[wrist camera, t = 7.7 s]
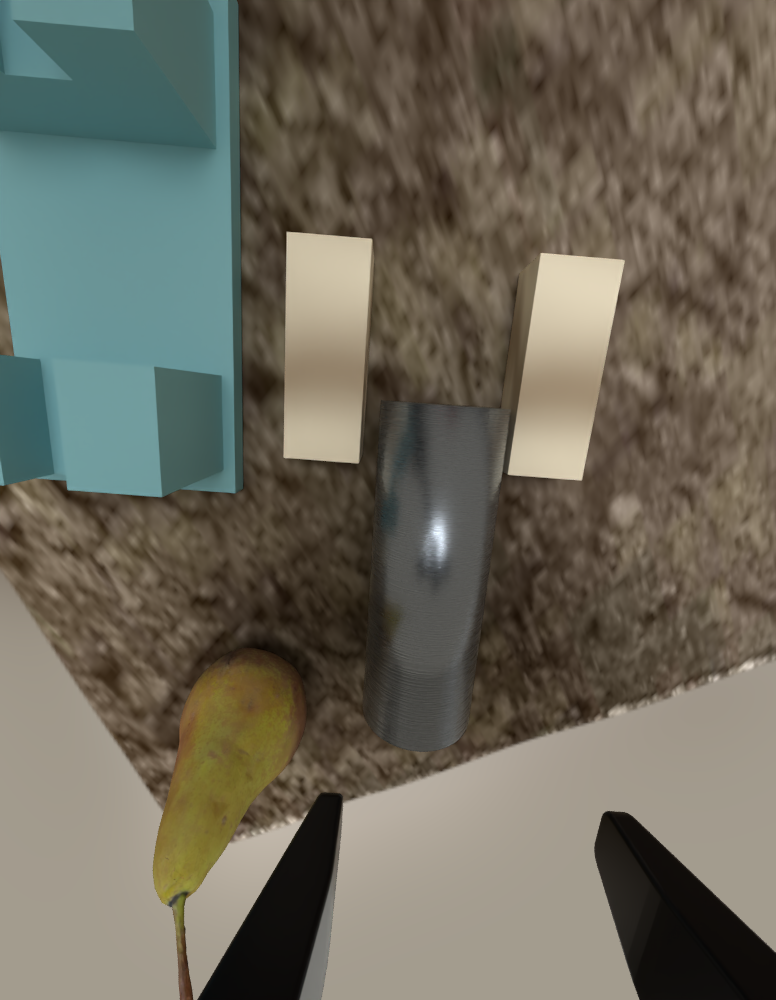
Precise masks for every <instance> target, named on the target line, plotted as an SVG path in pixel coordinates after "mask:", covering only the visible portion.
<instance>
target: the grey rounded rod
mask: <svg viewBox="0 0 776 1000" xmlns="http://www.w3.org/2000/svg"><path fill="white" fill-rule="evenodd" d="M510 413H511V409H501V408H488V407H474V406H460V405H446V404H431V403H416V402H400V401H381V409H380V426H379V443H378V459H377V476H376V493H375V509H374V526H373V543H372V559H371V576H370V592H369V609H368V626H367V642H366V659H365V676H364V692H363V713H364V717H365V719H366V721H367V723H368V725H369V726H370V728H371V729H372V730H373V731H374V732H375V733H376V734H377V735H378V736H379V737H380V738H382V739H383V740H385V741H386V742H388V743H390V744H392V745H394V746H396V747H399V748H402V749H406V750H410V751H419V752H428V751H435V750H440V749H443V748H446V747H448V746H450V745H452V744H454V743H455V742H456V741H458V740H459V739H460V738H461V737H462V736H463V734H464V732H465V731H466V729H467V726H468V721H469V715H470V707H471V700H472V692H473V685H474V678H475V670H476V663H477V656H478V648H479V641H480V634H481V626H482V619H483V612H484V604H485V597H486V590H487V582H488V575H489V568H490V560H491V553H492V545H493V538H494V531H495V523H496V516H497V509H498V501H499V494H500V487H501V479H502V472H503V465H504V457H505V450H506V443H507V435H508V428H509V421H510Z"/></svg>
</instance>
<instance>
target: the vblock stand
mask: <svg viewBox="0 0 776 1000" xmlns="http://www.w3.org/2000/svg"><path fill="white" fill-rule="evenodd" d="M0 255H1V262H2V269H3V276H4V283H5V291H6V298H7V305H8V312H9V320H10V327H11V334H12V341H13V349H14V356H6V355H0V485H8V484H12V483H17V482H21V481H26V480H30V479H34V478H38V479H52V480H65V481H67V489H68V490H74V491H87V492H100V493H114V494H127V495H141V496H154V497H163V496H166V495H168V494H170V493H172V492H175V491H177V490H179V489H185V490H199V491H212V492H225V493H237V492H238V491H240V490H241V489H243V422H242V323H241V225H240V126H239V28H238V3H237V0H0Z"/></svg>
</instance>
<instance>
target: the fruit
mask: <svg viewBox="0 0 776 1000" xmlns="http://www.w3.org/2000/svg"><path fill="white" fill-rule="evenodd" d="M306 716H307V705H306V695H305V690H304V685H303V682H302V679H301V676H300V674H299V673H298V671H297V670H296V669H295V668H294V667H293V666H292V665H291V664H290V663H289V662H287V661H286V660H284V659H283V658H281V657H279V656H277V655H276V654H274V653H271V652H268V651H265V650H260V649H256V648H240V649H237V650H234V651H231V652H229V653H228V654H226V655H224V656H222V657H221V658H220V659H218V660H217V661H215V662H214V663H213V664H212V665H211V666H210V667H209V668H207V669H206V670H205V671H204V673H203V674H202V675H201V676H200V677H199V679H198V680H197V682H196V683H195V685H194V687H193V689H192V690H191V692H190V694H189V696H188V699H187V701H186V703H185V706H184V709H183V713H182V716H181V721H180V743H179V749H178V753H177V758H176V763H175V768H174V772H173V776H172V780H171V785H170V790H169V794H168V798H167V802H166V805H165V809H164V812H163V815H162V819H161V823H160V826H159V831H158V836H157V841H156V846H155V854H154V861H153V878H154V885H155V889H156V892H157V894H158V896H159V898H160V900H161V902H162V903H164V904H165V905H167V906H170V907H172V910H173V915H174V921H175V927H176V940H177V954H178V968H179V991H180V1000H193V994H192V987H191V981H190V976H189V969H188V961H187V955H186V941H185V926H184V905H185V900H186V898H188V897H189V896H190V895H191V894H193V893H194V892H195V891H196V890H197V889H198V888H199V886H200V885H201V884H202V882H203V880H204V878H205V877H206V875H207V873H208V872H209V870H210V869H211V868H212V867H213V865H214V864H215V862H216V861H217V860H218V859H219V857H220V856H221V854H222V853H223V851H224V850H225V848H226V847H227V845H228V843H229V842H230V840H231V838H232V836H233V834H234V832H235V831H236V829H237V827H238V825H239V823H240V821H241V819H242V817H243V816H244V814H245V812H246V811H247V809H248V808H249V806H250V804H251V803H252V802H253V801H254V799H255V798H256V797H257V796H258V795H259V793H260V792H261V791H262V790H263V789H264V788H265V787H266V786H267V785H268V784H269V783H270V782H272V781H273V780H274V779H275V778H276V777H277V776H278V775H279V774H280V773H281V772H282V771H283V770H284V769H285V767H286V766H287V765H288V763H289V762H290V760H291V759H292V757H293V756H294V754H295V752H296V750H297V748H298V746H299V744H300V741H301V739H302V736H303V733H304V730H305V724H306Z"/></svg>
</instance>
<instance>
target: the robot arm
mask: <svg viewBox="0 0 776 1000" xmlns="http://www.w3.org/2000/svg"><path fill="white" fill-rule="evenodd" d="M342 811H343V796H342V795H341V794H339V793H326V792H324V793H321V794H320V795H319V796H318V797H317V799H316V800H315V802H314V804H313V805H312V807H311V809H310V811H309V812H308V814H307V816H306V817H305V819H304V821H303V822H302V824H301V826H300V827H299V829H298V831H297V832H296V834H295V836H294V838H293V839H292V841H291V843H290V844H289V846H288V848H287V849H286V851H285V853H284V855H283V856H282V858H281V860H280V861H279V863H278V865H277V866H276V868H275V870H274V871H273V873H272V875H271V877H270V878H269V880H268V881H267V883H266V885H265V887H264V888H263V890H262V892H261V893H260V895H259V897H258V898H257V900H256V902H255V903H254V905H253V907H252V908H251V910H250V912H249V914H248V915H247V917H246V919H245V920H244V922H243V924H242V925H241V927H240V929H239V930H238V932H237V934H236V935H235V937H234V939H233V940H232V942H231V944H230V946H229V947H228V949H227V951H226V952H225V954H224V956H223V957H222V959H221V961H220V963H219V964H218V966H217V968H216V969H215V971H214V973H213V974H212V976H211V978H210V980H209V981H208V983H207V984H206V986H205V988H204V990H203V991H202V993H201V994H200V996H199V998H198V1000H321V997H322V992H323V987H324V980H325V975H326V969H327V963H328V954H329V947H330V937H331V928H332V918H333V909H334V899H335V889H336V879H337V870H338V860H339V850H340V839H341V826H342ZM594 849H595V850H594V851H595V859H596V863H597V866H598V870H599V873H600V876H601V879H602V883H603V886H604V889H605V893H606V896H607V899H608V903H609V906H610V909H611V912H612V916H613V919H614V922H615V925H616V929H617V932H618V936H619V939H620V942H621V945H622V949H623V952H624V955H625V959H626V962H627V965H628V968H629V971H630V973H631V977H632V980H633V983H634V986H635V988H636V991H637V994H638V997H639V1000H776V952H774V951H773V950H772V949H771V948H770V947H769V946H768V945H767V944H766V943H765V942H764V941H763V940H762V939H761V938H760V937H759V936H758V935H757V934H756V933H755V932H753V931H752V930H751V929H750V928H749V927H748V926H747V925H746V924H745V923H744V922H743V921H742V920H741V919H740V918H739V917H738V916H737V915H736V914H734V912H732V911H731V910H730V909H729V908H728V907H727V906H726V905H725V904H724V903H723V902H722V901H721V900H720V899H719V898H718V897H717V896H716V895H714V894H713V892H712V891H710V890H709V889H708V888H707V887H706V886H705V885H704V884H703V883H702V882H701V881H700V880H699V879H698V878H697V877H696V876H695V875H694V874H693V873H692V872H691V871H689V870H688V869H687V868H686V867H685V866H684V865H683V864H682V863H681V862H680V861H679V860H678V859H677V858H676V857H675V856H674V855H673V854H671V852H669V851H668V850H667V849H666V848H665V847H664V846H663V845H662V844H661V843H660V842H659V841H658V840H657V839H656V838H655V837H654V836H653V835H652V834H651V833H650V832H649V831H647V830H646V829H645V828H644V827H643V826H642V825H641V824H640V823H639V822H638V821H637V820H636V819H635V818H634V817H633V816H631V815H630V814H628V813H625V812H613V811H607V812H605V813H604V814H603V816H602V818H601V822H600V826H599V830H598V834H597V837H596V841H595V847H594Z"/></svg>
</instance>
